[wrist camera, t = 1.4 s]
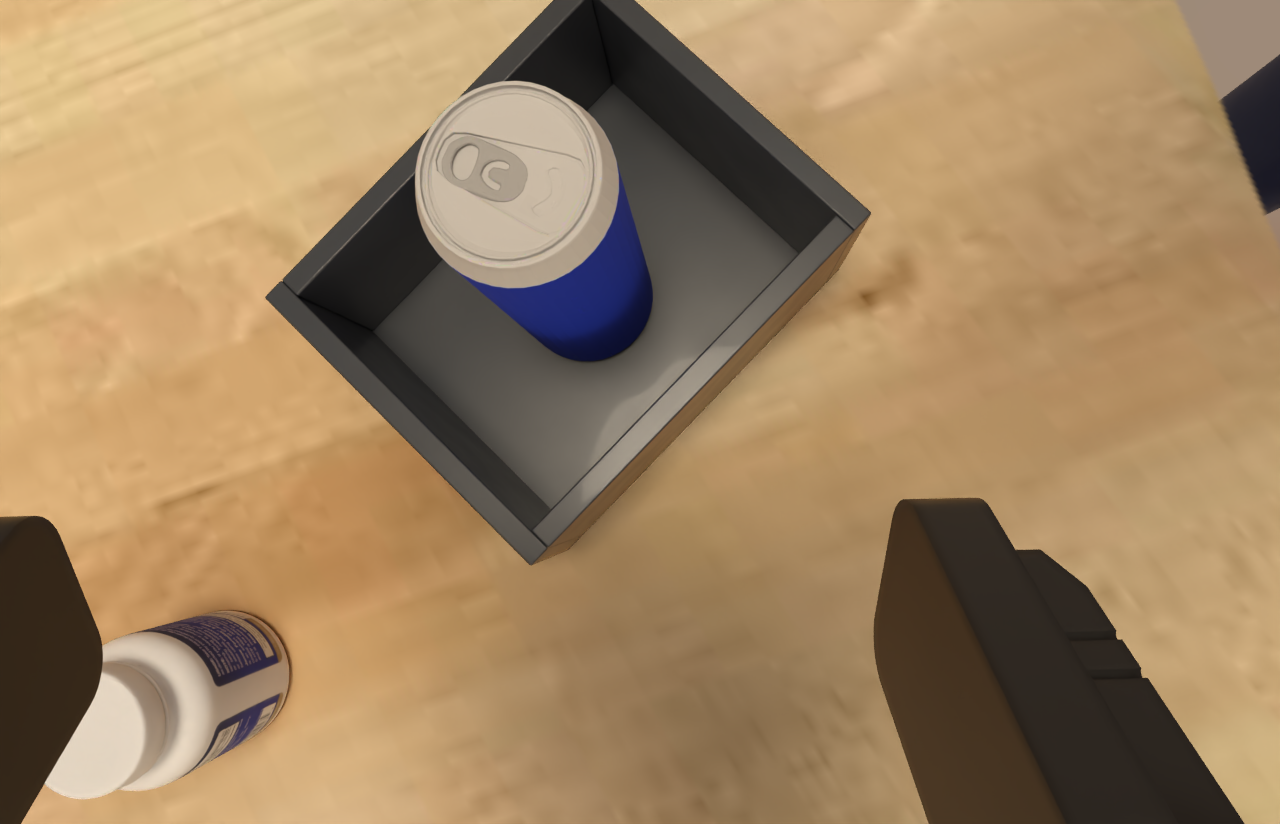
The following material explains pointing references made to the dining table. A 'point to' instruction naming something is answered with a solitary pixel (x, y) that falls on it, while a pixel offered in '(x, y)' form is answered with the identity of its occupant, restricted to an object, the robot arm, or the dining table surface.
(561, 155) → the beverage can
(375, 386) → the dark grey open box
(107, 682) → the pill bottle
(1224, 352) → the dining table surface
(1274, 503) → the dining table surface
